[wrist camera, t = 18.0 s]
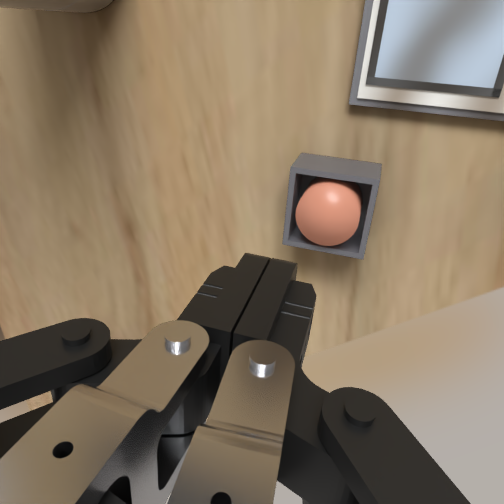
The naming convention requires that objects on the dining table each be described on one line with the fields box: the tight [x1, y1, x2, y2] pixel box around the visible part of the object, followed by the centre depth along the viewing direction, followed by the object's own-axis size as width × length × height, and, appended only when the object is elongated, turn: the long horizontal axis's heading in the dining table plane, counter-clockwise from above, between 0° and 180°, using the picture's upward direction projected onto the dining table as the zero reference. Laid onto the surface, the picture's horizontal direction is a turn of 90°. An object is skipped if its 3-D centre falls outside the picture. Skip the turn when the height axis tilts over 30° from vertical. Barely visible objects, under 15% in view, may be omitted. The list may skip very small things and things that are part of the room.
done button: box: [296, 177, 363, 246], centre depth 31 cm, size 4×4×3 cm
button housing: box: [282, 153, 382, 259], centre depth 32 cm, size 6×6×4 cm
